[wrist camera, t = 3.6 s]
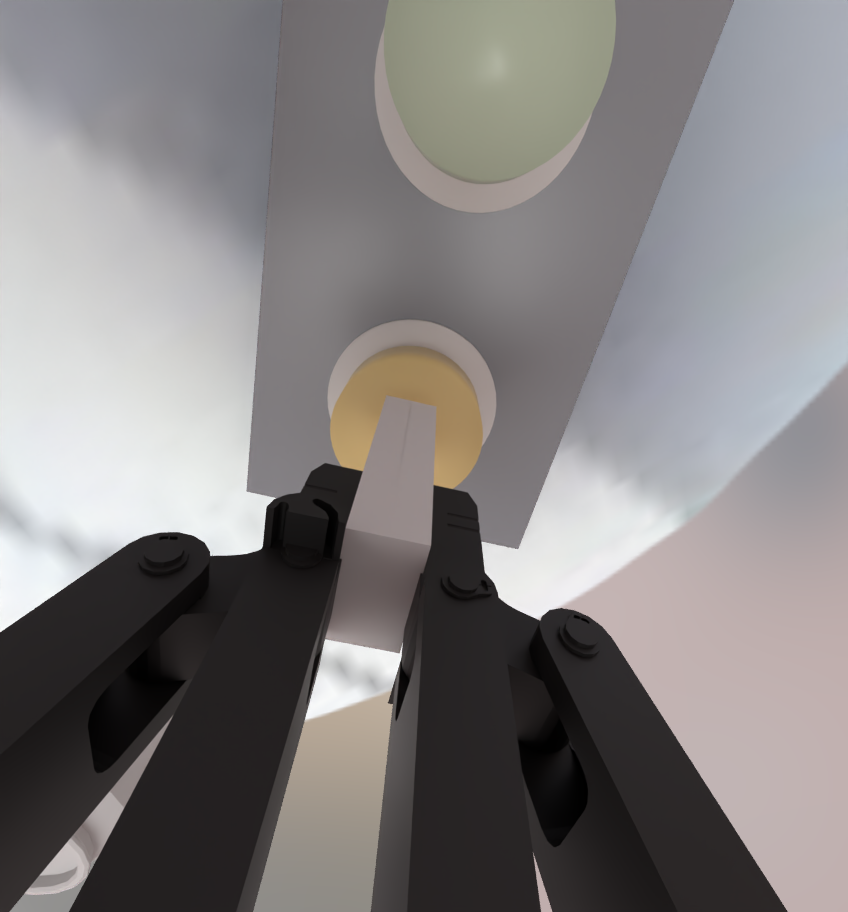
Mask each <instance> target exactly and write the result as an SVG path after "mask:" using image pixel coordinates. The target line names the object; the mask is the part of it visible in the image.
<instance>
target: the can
mask: <svg viewBox="0 0 848 912" xmlns="http://www.w3.org/2000/svg"><path fill="white" fill-rule="evenodd" d="M172 717H173V716H172ZM172 717H171V718H170V720H169V721H168V722H167V723H166V724H165V726H164V727H163V728H162V729H161V730H160V732H159V733H158V734H157V735H156V736H155V738H154V739H153V740H152V741H151V742H150V744H149V745H148V746H147V747H146V748H145V750H144V751H143V752H142V753H141V754H140V756H139V757H138V758H137V759H136V760H135V762H134V763H133V764H132V765H131V766H130V768H129V769H128V770H127V771H126V772H125V774H124V775H123V776H122V777H121V778H120V780H119V781H118V782H117V783H116V784H115V786H114V787H113V788H112V789H111V790H110V792H109V793H108V794H107V795H106V796H105V798H104V799H103V800H102V801H101V802H100V804H99V805H98V806H97V807H96V808H95V810H94V811H93V812H92V813H91V814H90V816H89V817H88V818H87V819H86V820H85V822H84V823H83V824H82V825H81V826H80V828H79V829H78V830H77V831H76V832H75V834H74V835H73V836H72V837H71V838H70V839H69V841H68V842H67V843H66V844H65V845H64V847H63V848H62V849H61V850H60V851H59V853H58V854H57V855H56V856H55V857H54V859H53V860H52V861H51V862H50V863H49V865H48V866H47V867H46V868H45V869H44V871H43V872H42V873H41V874H40V875H39V877H38V878H37V879H36V880H35V881H34V883H33V884H32V885H31V886H30V887H29V889H28V890H27V891H26V892H25V893H24V894H32V895H39V894H53V893H58V892H61V891H64V890H68V889H71V888H73V887H75V886H77V885H78V884H79V883H80V882H81V881H83V880H84V879H85V878H86V877H87V875H88V873H89V868H90V864H91V862H92V861H94V860H95V859H97V858H98V856H99V854H100V853H101V851H102V849H103V847H104V845H105V843H106V841H107V839H108V837H109V836H110V834H111V832H112V830H113V828H114V826H115V824H116V822H117V820H118V819H119V817H120V815H121V813H122V811H123V809H124V807H125V805H126V804H127V802H128V800H129V798H130V796H131V794H132V792H133V790H134V788H135V787H136V785H137V783H138V781H139V779H140V777H141V775H142V773H143V771H144V770H145V768H146V766H147V764H148V762H149V760H150V758H151V756H152V755H153V753H154V751H155V749H156V747H157V745H158V743H159V741H160V739H161V738H162V736H163V734H164V732H165V730H166V728H167V726H168V724H169V722H170V721H171V719H172Z"/></svg>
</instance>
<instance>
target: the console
mask: <svg viewBox="0 0 848 912" xmlns="http://www.w3.org/2000/svg"><path fill="white" fill-rule="evenodd" d="M388 2H389V0H283V4H282V17H281V31H280V44H279V58H278V71H277V85H276V99H275V112H274V126H273V139H272V153H271V166H270V180H269V194H268V207H267V221H266V234H265V248H264V261H263V275H262V289H261V302H260V316H259V329H258V343H257V357H256V370H255V384H254V397H253V411H252V424H251V438H250V452H249V465H248V479H247V492H252V493H256V494H261V495H266V496H270V497H275V498H279V497H281V496H284V495H286V494H294V493H300V492H301V490H302V488H303V486H304V485H305V482H306V481H307V479H308V477H309V475H310V473H311V471H313V470H314V469H316V468H318V467H319V466H321V465H322V464H324V463H328V464H332V465H337V466H341V465H340V463H339V461H338V459H337V457H336V455H335V453H334V450H333V447H332V442H331V436H330V423H331V416H332V412H333V409H334V406H335V404H336V401H337V400H338V398H339V396H340V394H341V393H342V391H343V389H344V387H345V386H346V384H347V382H348V381H349V379H350V377H351V375H352V374H353V373H354V371H355V370H356V369H357V368H358V367H359V366H360V365H361V364H362V363H363V362H364V361H365V360H367V359H368V358H369V357H371V356H373V355H374V354H376V353H378V352H380V351H383V350H386V349H389V348H393V347H398V346H419V347H425V348H428V349H432V350H435V351H437V352H439V353H441V354H443V355H445V356H447V357H448V358H450V359H451V360H453V361H454V362H455V363H456V364H457V365H459V366H460V367H461V369H462V370H463V371H464V372H465V373H466V375H467V376H468V377H469V379H470V381H471V383H472V384H473V386H474V389H475V392H476V395H477V399H478V404H479V409H480V415H481V420H482V426H483V441H482V447H481V451H480V455H479V457H478V460H477V462H476V464H475V466H474V467H473V469H472V471H471V472H470V473H469V474H468V476H467V477H466V478H465V479H464V480H463V481H462V482H461V483H460V484H459V485H457V486H456V487H455V488H453V489H455V490H459V491H464V492H468V493H469V495H470V496H471V498H472V499H473V500H474V502H475V503H476V505H477V508H478V517H479V520H478V522H479V526H480V535H481V541H482V542H487V543H492V544H496V545H501V546H506V547H511V548H515V549H518V548H519V545H520V543H521V540H522V538H523V535H524V533H525V530H526V528H527V525H528V523H529V520H530V518H531V515H532V512H533V510H534V507H535V505H536V502H537V500H538V497H539V495H540V492H541V490H542V487H543V485H544V482H545V479H546V477H547V474H548V472H549V469H550V467H551V464H552V462H553V459H554V457H555V454H556V452H557V449H558V446H559V444H560V441H561V439H562V436H563V434H564V431H565V429H566V426H567V424H568V421H569V418H570V416H571V413H572V411H573V408H574V406H575V403H576V401H577V398H578V396H579V393H580V391H581V388H582V385H583V383H584V380H585V378H586V375H587V373H588V370H589V368H590V365H591V363H592V360H593V358H594V355H595V352H596V350H597V347H598V345H599V342H600V340H601V337H602V335H603V332H604V330H605V327H606V325H607V322H608V319H609V317H610V314H611V312H612V309H613V307H614V304H615V302H616V299H617V297H618V294H619V291H620V289H621V286H622V284H623V281H624V279H625V276H626V274H627V271H628V269H629V266H630V264H631V261H632V258H633V256H634V253H635V251H636V248H637V246H638V243H639V241H640V238H641V236H642V233H643V231H644V228H645V225H646V223H647V220H648V218H649V215H650V213H651V210H652V208H653V205H654V203H655V200H656V198H657V195H658V192H659V190H660V187H661V185H662V182H663V180H664V177H665V175H666V172H667V170H668V167H669V164H670V162H671V159H672V157H673V154H674V152H675V149H676V147H677V144H678V142H679V139H680V137H681V134H682V131H683V129H684V126H685V124H686V121H687V119H688V116H689V114H690V111H691V109H692V106H693V104H694V101H695V98H696V96H697V93H698V91H699V88H700V86H701V83H702V81H703V78H704V76H705V73H706V71H707V68H708V65H709V63H710V60H711V58H712V55H713V53H714V50H715V48H716V45H717V43H718V40H719V38H720V35H721V32H722V30H723V27H724V25H725V22H726V20H727V17H728V15H729V12H730V10H731V7H732V4H733V2H734V0H615V10H616V32H615V44H614V50H613V56H612V62H611V65H610V69H609V73H608V77H607V80H606V82H605V85H604V88H603V90H602V93H601V96H600V98H599V100H598V102H597V104H596V106H595V108H594V110H593V112H592V113H591V115H590V116H589V118H588V120H587V121H586V123H585V124H584V126H583V127H582V128H581V130H580V131H579V132H578V133H577V135H576V136H575V137H574V138H573V140H572V141H571V142H570V143H569V144H568V145H567V146H566V147H565V148H564V149H563V150H562V151H560V152H559V153H558V154H557V155H555V156H554V157H553V158H551V159H550V160H549V161H547V162H546V163H544V164H542V165H541V166H539V167H537V168H535V169H534V170H532V171H530V172H528V173H526V174H524V175H522V176H520V177H517V178H515V179H512V180H509V181H505V182H502V183H495V184H474V183H468V182H464V181H461V180H458V179H455V178H453V177H451V176H449V175H447V174H445V173H443V172H442V171H440V170H439V169H437V168H436V167H435V166H433V165H432V164H431V163H430V162H429V161H428V160H427V159H426V158H425V157H424V156H423V155H422V154H421V153H420V151H419V150H418V149H417V148H416V146H415V145H414V143H413V142H412V140H411V138H410V137H409V135H408V133H407V131H406V129H405V127H404V125H403V123H402V120H401V118H400V116H399V114H398V112H397V109H396V107H395V104H394V101H393V98H392V95H391V92H390V89H389V84H388V80H387V75H386V69H385V59H384V28H385V18H386V12H387V7H388ZM341 467H342V466H341Z"/></svg>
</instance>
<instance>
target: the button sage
mask: <svg viewBox="0 0 848 912" xmlns="http://www.w3.org/2000/svg"><path fill="white" fill-rule="evenodd" d="M615 32H616V10H615V0H389V2H388V7H387V12H386V18H385V28H384V59H385V69H386V75H387V80H388V84H389V89H390V92H391V95H392V98H393V101H394V104H395V107H396V109H397V112H398V114H399V116H400V118H401V120H402V123H403V125H404V127H405V129H406V131H407V133H408V135H409V137H410V138H411V140H412V142H413V143H414V145H415V146H416V148H417V149H418V150H419V151H420V153H421V154H422V155H423V156H424V157H425V158H426V159H427V160H428V161H429V162H430V163H431V164H432V165H433V166H435V167H436V168H437V169H439V170H440V171H442V172H443V173H445V174H447V175H449V176H451V177H453V178H455V179H458V180H461V181H464V182H468V183H474V184H495V183H502V182H505V181H509V180H512V179H515V178H517V177H520V176H522V175H524V174H526V173H528V172H530V171H532V170H534V169H535V168H537V167H539V166H541V165H542V164H544V163H546V162H547V161H549V160H550V159H551V158H553V157H554V156H555V155H557V154H558V153H559V152H560V151H562V150H563V149H564V148H565V147H566V146H567V145H568V144H569V143H570V142H571V141H572V140H573V138H574V137H575V136H576V135H577V133H578V132H579V131H580V130H581V128H582V127H583V126H584V124H585V123H586V121H587V120H588V118H589V116H590V115H591V113H592V112H593V110H594V108H595V106H596V104H597V102H598V100H599V98H600V96H601V93H602V90H603V88H604V85H605V82H606V80H607V77H608V73H609V69H610V65H611V62H612V56H613V50H614V44H615Z"/></svg>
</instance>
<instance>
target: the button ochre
mask: <svg viewBox="0 0 848 912" xmlns="http://www.w3.org/2000/svg"><path fill="white" fill-rule="evenodd" d="M386 395H388V396H392V397H397V398H401V399H405V400H410V401H414V402H419V403H423V404H427V405H432V406H436V433H435V459H434V484H433V485H436V486H441V487H445V488H450V489H453V488H455V487H456V486H457V485H459V484H460V483H461V482H462V481H463V480H464V479H465V478H466V477H467V476H468V474H469V473H470V472H471V471H472V469H473V467H474V466H475V464H476V462H477V460H478V457H479V455H480V451H481V447H482V441H483V426H482V420H481V415H480V409H479V404H478V399H477V395H476V392H475V389H474V386H473V384H472V383H471V381H470V379H469V377H468V376H467V375H466V373H465V372H464V371H463V370H462V369H461V367H460V366H459V365H457V364H456V363H455V362H454V361H453V360H451V359H450V358H448V357H447V356H445V355H443V354H441V353H439V352H437V351H435V350H432V349H428V348H425V347H419V346H398V347H393V348H389V349H386V350H383V351H380V352H378V353H376V354H374V355H373V356H371V357H369V358H368V359H367V360H365V361H364V362H363V363H362V364H361V365H360V366H359V367H358V368H357V369H356V370H355V371H354V373H353V374H352V375H351V377H350V379H349V381H348V382H347V384H346V386H345V387H344V389H343V391H342V393H341V394H340V396H339V398H338V400H337V401H336V404H335V406H334V409H333V412H332V416H331V423H330V436H331V442H332V447H333V450H334V453H335V455H336V457H337V459H338V461H339V463H340V465H341V466H342V467H346V468H351V469H355V470H360V471H363V470H364V466H365V463H366V460H367V457H368V453H369V450H370V447H371V444H372V440H373V437H374V434H375V431H376V428H377V424H378V421H379V418H380V415H381V411H382V408H383V405H384V402H385V398H386Z"/></svg>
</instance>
